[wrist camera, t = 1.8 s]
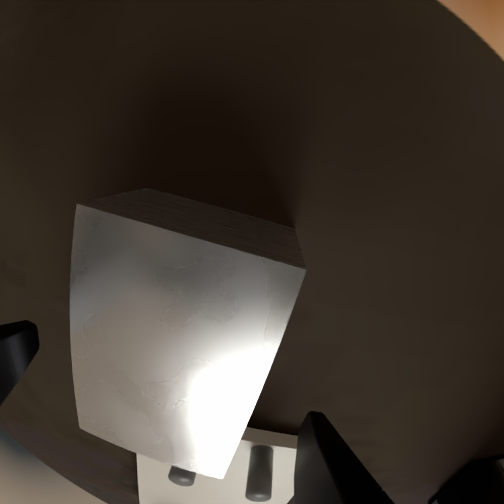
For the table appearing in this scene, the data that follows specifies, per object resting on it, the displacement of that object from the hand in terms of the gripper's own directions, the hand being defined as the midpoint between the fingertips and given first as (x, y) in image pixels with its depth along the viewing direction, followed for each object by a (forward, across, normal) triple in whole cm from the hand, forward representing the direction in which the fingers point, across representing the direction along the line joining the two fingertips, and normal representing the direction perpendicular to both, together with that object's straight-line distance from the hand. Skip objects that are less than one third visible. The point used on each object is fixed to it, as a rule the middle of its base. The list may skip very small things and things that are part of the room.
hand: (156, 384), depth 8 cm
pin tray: (+5, -3, +13) cm, 14 cm away
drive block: (+5, 0, 0) cm, 5 cm away
